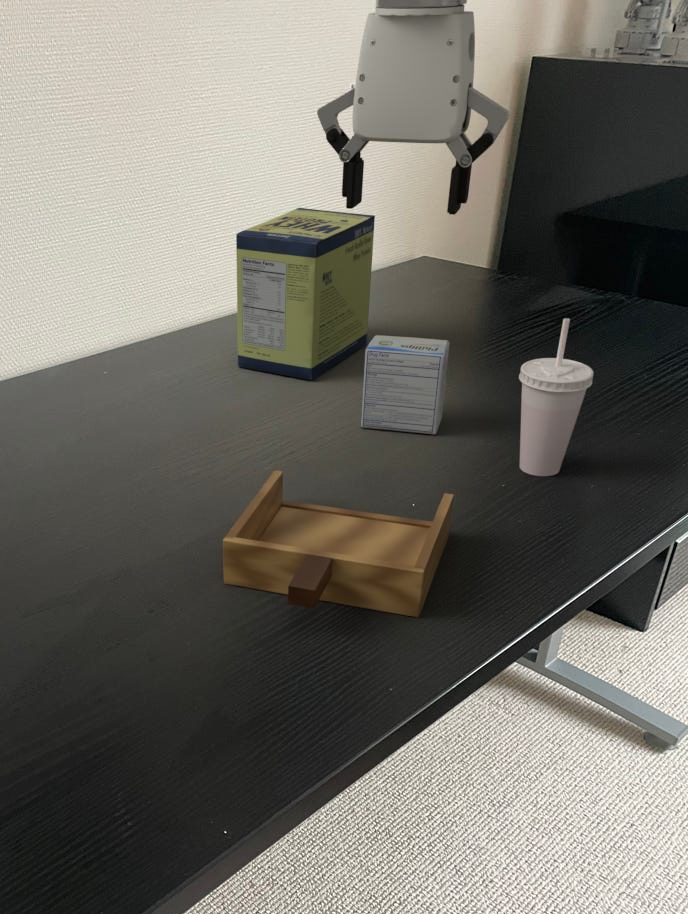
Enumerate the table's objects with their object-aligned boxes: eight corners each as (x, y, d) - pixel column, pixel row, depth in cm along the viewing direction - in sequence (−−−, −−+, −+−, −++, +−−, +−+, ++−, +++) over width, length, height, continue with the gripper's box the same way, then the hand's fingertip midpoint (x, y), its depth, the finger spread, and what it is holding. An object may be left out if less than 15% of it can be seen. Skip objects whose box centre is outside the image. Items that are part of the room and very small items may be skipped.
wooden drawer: (449, 534, 84) (454, 492, 81) (405, 653, 70) (410, 606, 68) (275, 508, 89) (275, 468, 86) (201, 615, 75) (199, 570, 72)
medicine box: (442, 420, 104) (451, 339, 99) (435, 437, 100) (445, 353, 96) (368, 413, 106) (373, 333, 101) (359, 429, 103) (364, 347, 98)
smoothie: (579, 459, 95) (608, 314, 87) (569, 487, 90) (599, 335, 82) (511, 450, 97) (534, 307, 89) (498, 476, 93) (521, 327, 85)
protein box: (368, 343, 125) (377, 213, 116) (311, 382, 114) (316, 242, 105) (296, 332, 130) (298, 206, 121) (235, 368, 119) (233, 232, 110)
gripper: (531, -10, 83) (501, 205, 93) (335, -7, 89) (326, 196, 99) (518, -6, 78) (488, 222, 88) (310, -3, 83) (304, 211, 93)
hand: (403, 208), depth 93 cm, fingers open, 9 cm apart
